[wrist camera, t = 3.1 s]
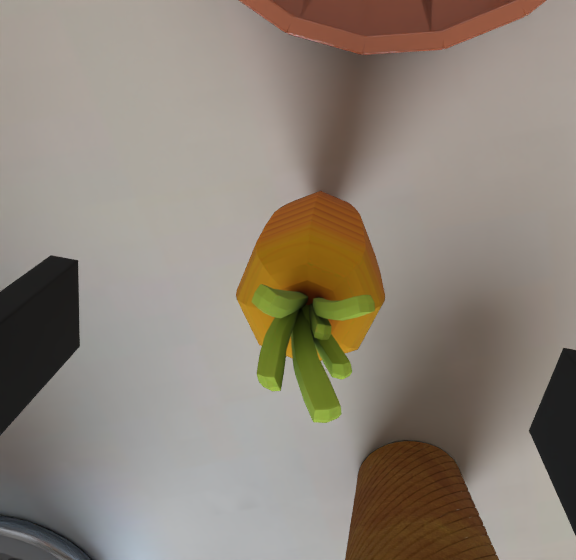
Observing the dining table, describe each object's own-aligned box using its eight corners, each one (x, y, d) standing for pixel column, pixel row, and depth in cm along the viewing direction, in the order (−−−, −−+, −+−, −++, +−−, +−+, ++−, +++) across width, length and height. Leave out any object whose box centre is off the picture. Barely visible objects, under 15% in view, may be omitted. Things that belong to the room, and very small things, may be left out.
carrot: (272, 159, 27) (192, 283, 13) (375, 160, 26) (405, 291, 12) (274, 254, 29) (205, 450, 15) (370, 257, 28) (390, 462, 14)
